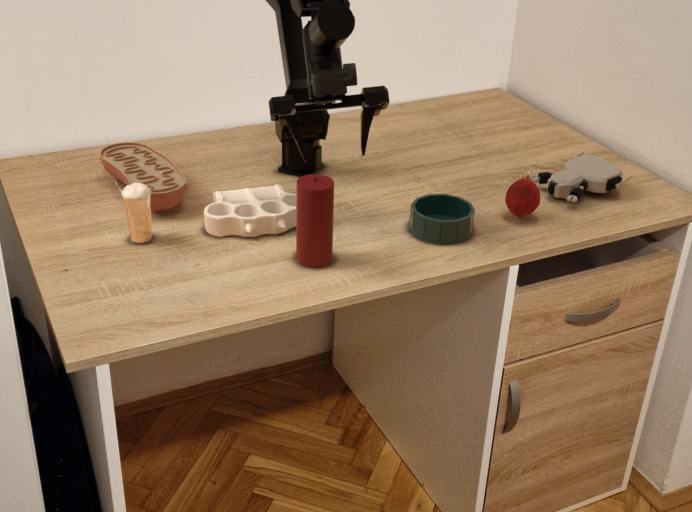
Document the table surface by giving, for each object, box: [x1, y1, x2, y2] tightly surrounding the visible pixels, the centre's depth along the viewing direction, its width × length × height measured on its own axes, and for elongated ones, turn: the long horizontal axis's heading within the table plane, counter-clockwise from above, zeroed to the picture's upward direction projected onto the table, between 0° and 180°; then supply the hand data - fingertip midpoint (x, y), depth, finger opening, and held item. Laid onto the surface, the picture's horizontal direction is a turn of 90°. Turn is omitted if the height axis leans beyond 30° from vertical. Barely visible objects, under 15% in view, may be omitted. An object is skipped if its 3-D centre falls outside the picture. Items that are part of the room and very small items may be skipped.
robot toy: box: [530, 150, 634, 204], centre depth 168 cm, size 12×4×15 cm
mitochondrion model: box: [99, 141, 187, 212], centre depth 162 cm, size 23×10×5 cm, turn 33°
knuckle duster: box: [203, 183, 296, 238], centre depth 155 cm, size 3×18×15 cm
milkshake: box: [114, 180, 153, 244], centre depth 146 cm, size 4×5×10 cm
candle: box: [295, 173, 335, 268], centre depth 142 cm, size 6×6×14 cm
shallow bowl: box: [408, 193, 476, 245], centre depth 154 cm, size 10×10×4 cm
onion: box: [504, 173, 541, 219], centre depth 157 cm, size 6×6×8 cm
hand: (334, 158), depth 148 cm, fingers open, 9 cm apart
